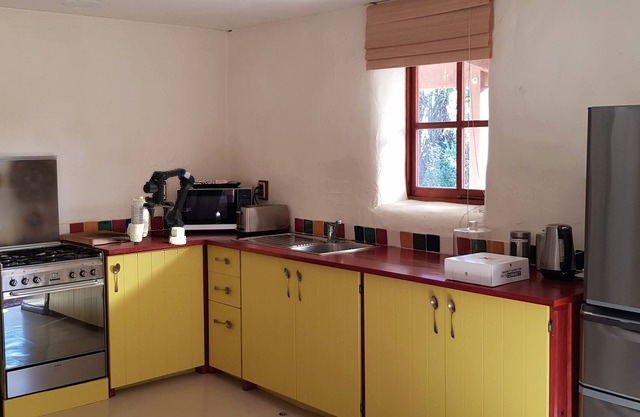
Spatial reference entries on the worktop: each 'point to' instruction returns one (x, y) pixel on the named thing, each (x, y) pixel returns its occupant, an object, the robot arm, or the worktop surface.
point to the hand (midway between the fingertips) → (158, 219)
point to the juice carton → (139, 213)
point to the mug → (135, 231)
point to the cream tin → (178, 240)
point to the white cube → (177, 232)
